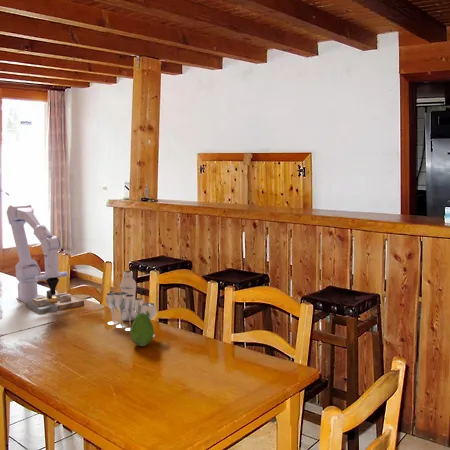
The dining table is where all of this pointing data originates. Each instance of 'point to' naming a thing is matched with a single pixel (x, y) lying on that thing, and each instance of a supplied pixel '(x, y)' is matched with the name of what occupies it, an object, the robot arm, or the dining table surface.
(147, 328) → the avocado
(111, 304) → the goblet set
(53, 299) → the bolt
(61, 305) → the two-tone tabbed panel
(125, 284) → the plastic bottle
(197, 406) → the dining table surface
